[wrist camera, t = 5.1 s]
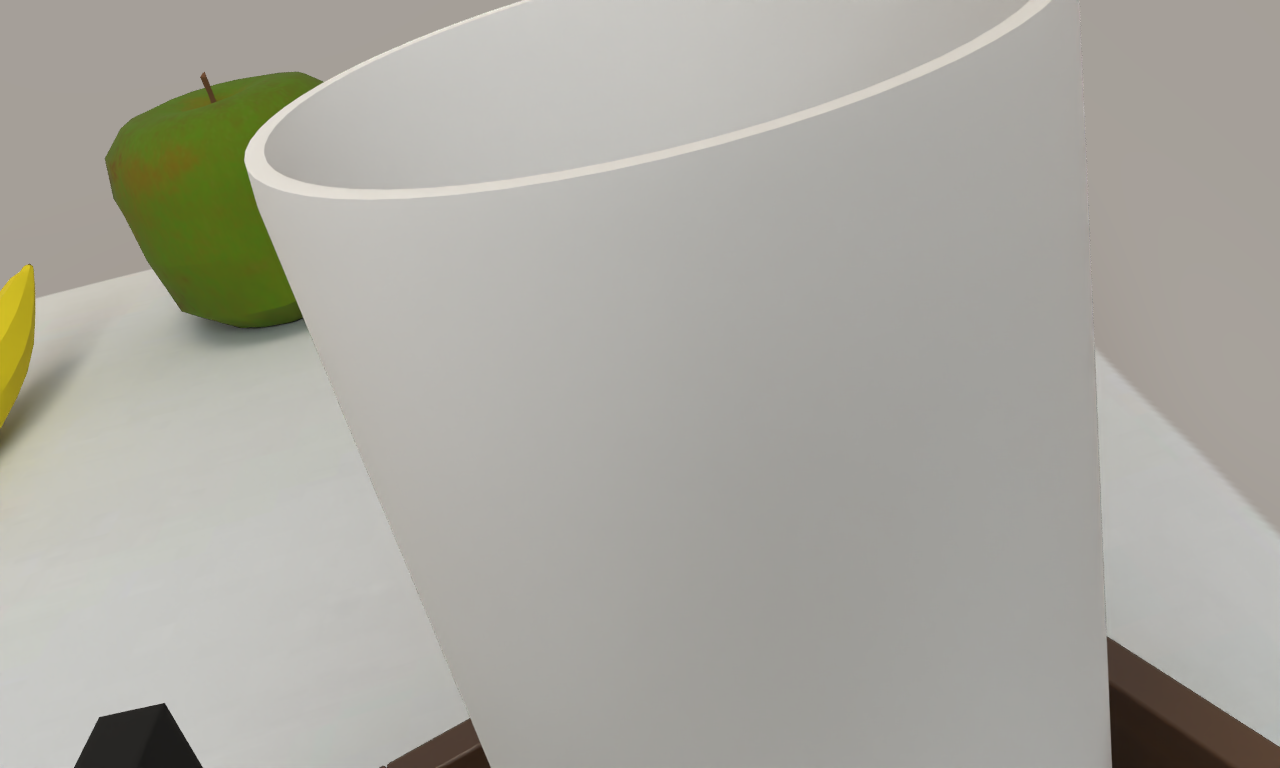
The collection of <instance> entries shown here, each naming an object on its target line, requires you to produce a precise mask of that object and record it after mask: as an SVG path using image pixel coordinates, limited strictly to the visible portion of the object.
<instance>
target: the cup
mask: <svg viewBox="0 0 1280 768" xmlns="http://www.w3.org/2000/svg"><path fill="white" fill-rule="evenodd" d="M1085 139H1086V138H1085V116H1084V94H1083V71H1082V48H1081V26H1080V7H1079V0H523V1H520V2H517V3H514V4H511V5H508V6H505V7H501V8H498V9H496V10H492V11H490V12H487V13H484V14H481V15H479V16H475V17H472V18H470V19H467V20H464V21H461V22H459V23H456V24H453V25H450V26H448V27H445V28H442V29H440V30H437V31H435V32H432V33H430V34H427V35H425V36H422V37H420V38H417V39H415V40H412V41H410V42H408V43H405V44H403V45H401V46H398V47H396V48H393V49H391V50H389V51H386V52H384V53H382V54H380V55H378V56H375V57H373V58H371V59H369V60H367V61H365V62H363V63H360V64H358V65H356V66H354V67H352V68H350V69H348V70H346V71H344V72H342V73H340V74H338V75H336V76H335V77H333V78H331V79H329V80H327V81H326V82H324V83H322V84H320V85H318V86H316V87H315V88H313V89H312V90H310V91H308V92H307V93H305V94H303V95H302V96H300V97H299V98H297V99H296V100H294V101H293V102H291V103H290V104H288V105H287V106H285V107H284V108H283V109H281V110H280V111H279V112H278V113H276V114H275V115H274V116H273V117H271V118H270V119H269V120H268V121H267V122H266V123H265V124H264V125H263V126H262V127H261V128H260V129H259V130H258V131H257V132H256V134H255V135H254V136H253V138H252V139H251V140H250V142H249V144H248V146H247V148H246V150H245V158H244V162H245V165H246V169H247V172H248V176H249V179H250V183H251V186H252V190H253V193H254V196H255V200H256V203H257V206H258V209H259V212H260V214H261V217H262V219H263V222H264V224H265V226H266V229H267V231H268V234H269V236H270V238H271V241H272V243H273V246H274V248H275V251H276V253H277V255H278V258H279V260H280V263H281V265H282V267H283V270H284V272H285V275H286V277H287V280H288V282H289V284H290V287H291V289H292V292H293V294H294V296H295V299H296V301H297V304H298V306H299V308H300V311H301V313H302V316H303V318H304V321H305V323H306V325H307V328H308V330H309V333H310V335H311V337H312V340H313V342H314V345H315V347H316V350H317V352H318V354H319V357H320V359H321V362H322V364H323V366H324V369H325V371H326V374H327V376H328V378H329V381H330V383H331V386H332V388H333V391H334V393H335V395H336V398H337V400H338V403H339V405H340V407H341V410H342V412H343V415H344V417H345V420H346V422H347V424H348V427H349V429H350V431H351V434H352V436H353V439H354V441H355V443H356V446H357V448H358V451H359V453H360V455H361V458H362V460H363V463H364V465H365V467H366V470H367V472H368V475H369V477H370V479H371V482H372V484H373V487H374V489H375V491H376V494H377V496H378V499H379V501H380V503H381V506H382V508H383V511H384V513H385V515H386V518H387V520H388V522H389V525H390V527H391V530H392V532H393V534H394V537H395V539H396V542H397V544H398V546H399V549H400V551H401V554H402V556H403V558H404V561H405V563H406V566H407V568H408V570H409V573H410V575H411V578H412V580H413V582H414V585H415V587H416V590H417V592H418V594H419V597H420V599H421V601H422V604H423V606H424V609H425V611H426V613H427V616H428V618H429V621H430V623H431V625H432V628H433V630H434V633H435V635H436V637H437V640H438V642H439V645H440V647H441V649H442V652H443V654H444V657H445V659H446V661H447V664H448V666H449V669H450V671H451V673H452V676H453V678H454V680H455V683H456V685H457V688H458V690H459V692H460V695H461V697H462V700H463V702H464V704H465V707H466V709H467V712H468V714H469V716H470V719H471V721H472V724H473V726H474V728H475V731H476V733H477V736H478V738H479V740H480V743H481V745H482V748H483V750H484V752H485V755H486V757H487V759H488V762H489V764H490V767H491V768H1112V755H1111V731H1110V707H1109V683H1108V659H1107V635H1106V610H1105V586H1104V562H1103V538H1102V514H1101V490H1100V466H1099V442H1098V418H1097V394H1096V370H1095V346H1094V322H1093V299H1092V274H1091V252H1090V228H1089V207H1088V206H1089V205H1088V183H1087V160H1086V140H1085Z"/></svg>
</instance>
